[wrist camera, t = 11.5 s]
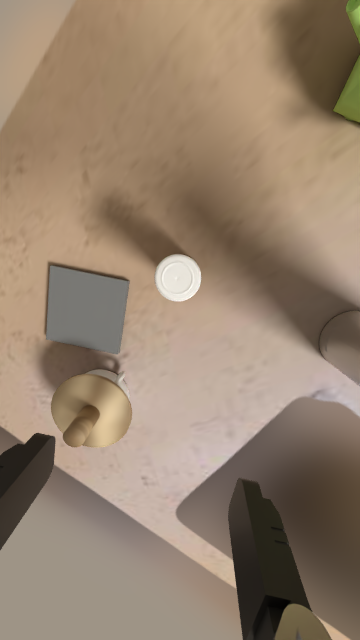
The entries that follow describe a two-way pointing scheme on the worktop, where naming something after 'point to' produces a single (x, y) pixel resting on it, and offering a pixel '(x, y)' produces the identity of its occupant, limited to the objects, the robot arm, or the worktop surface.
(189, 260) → the sprinkles bottle
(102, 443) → the lid
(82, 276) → the mat
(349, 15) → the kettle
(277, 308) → the worktop surface
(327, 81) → the worktop surface
